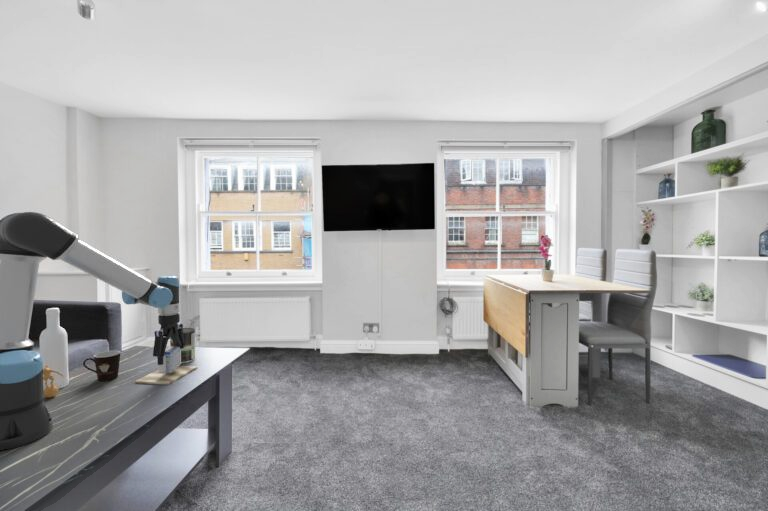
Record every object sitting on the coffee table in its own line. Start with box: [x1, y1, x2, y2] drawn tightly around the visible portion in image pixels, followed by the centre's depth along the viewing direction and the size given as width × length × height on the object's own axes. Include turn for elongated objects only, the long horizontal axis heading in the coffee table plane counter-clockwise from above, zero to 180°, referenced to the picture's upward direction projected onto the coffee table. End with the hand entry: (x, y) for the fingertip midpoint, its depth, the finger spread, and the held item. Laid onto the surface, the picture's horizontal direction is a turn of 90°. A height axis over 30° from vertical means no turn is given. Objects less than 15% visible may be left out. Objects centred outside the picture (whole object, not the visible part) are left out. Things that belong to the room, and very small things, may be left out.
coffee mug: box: [82, 350, 121, 382], centre depth 145 cm, size 12×9×10 cm
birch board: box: [134, 365, 198, 386], centre depth 149 cm, size 18×14×1 cm
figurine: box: [43, 365, 63, 399], centre depth 126 cm, size 8×6×12 cm
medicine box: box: [160, 346, 181, 373], centre depth 148 cm, size 8×4×9 cm, turn 6°
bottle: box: [39, 307, 70, 391], centre depth 136 cm, size 8×8×30 cm
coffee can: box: [169, 327, 196, 365], centre depth 167 cm, size 10×10×14 cm
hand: (170, 367), depth 149 cm, fingers closed on medicine box, 8 cm apart
